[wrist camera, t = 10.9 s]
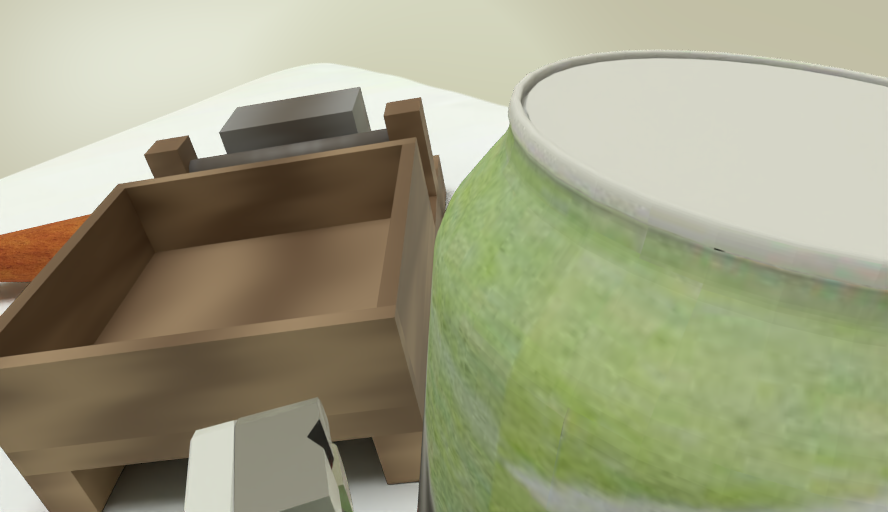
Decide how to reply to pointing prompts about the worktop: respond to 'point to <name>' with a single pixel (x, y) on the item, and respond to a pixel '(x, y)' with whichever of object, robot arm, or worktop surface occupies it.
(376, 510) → the worktop surface
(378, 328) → the tray
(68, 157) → the worktop surface
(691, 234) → the beverage can
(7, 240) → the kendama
